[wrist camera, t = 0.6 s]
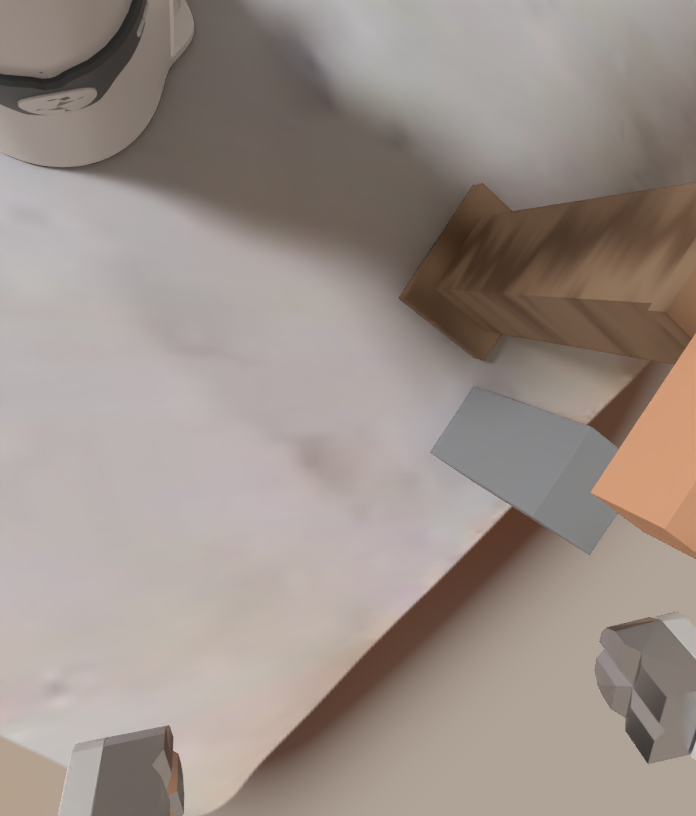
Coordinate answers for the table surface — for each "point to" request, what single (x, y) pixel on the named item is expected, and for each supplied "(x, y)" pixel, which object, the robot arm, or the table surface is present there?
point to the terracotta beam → (660, 463)
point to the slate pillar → (532, 463)
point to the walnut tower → (566, 274)
